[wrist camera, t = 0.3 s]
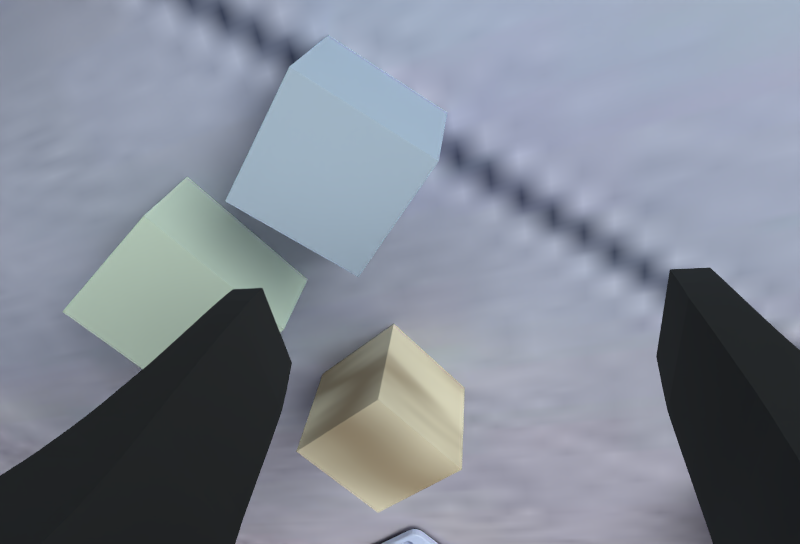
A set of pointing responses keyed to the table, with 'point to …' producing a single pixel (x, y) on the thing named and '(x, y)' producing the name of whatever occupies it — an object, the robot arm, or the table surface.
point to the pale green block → (179, 275)
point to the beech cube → (386, 421)
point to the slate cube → (339, 155)
